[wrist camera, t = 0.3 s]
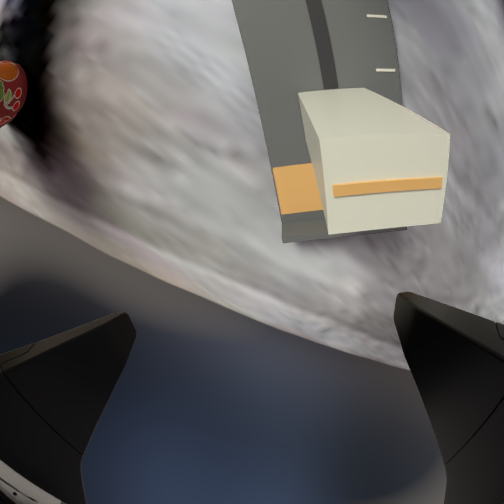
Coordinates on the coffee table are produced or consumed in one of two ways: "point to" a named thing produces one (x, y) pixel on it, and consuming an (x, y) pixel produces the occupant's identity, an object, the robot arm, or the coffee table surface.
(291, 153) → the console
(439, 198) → the fader knob
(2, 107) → the smoothie
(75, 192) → the coffee table surface
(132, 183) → the coffee table surface
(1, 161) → the coffee table surface
